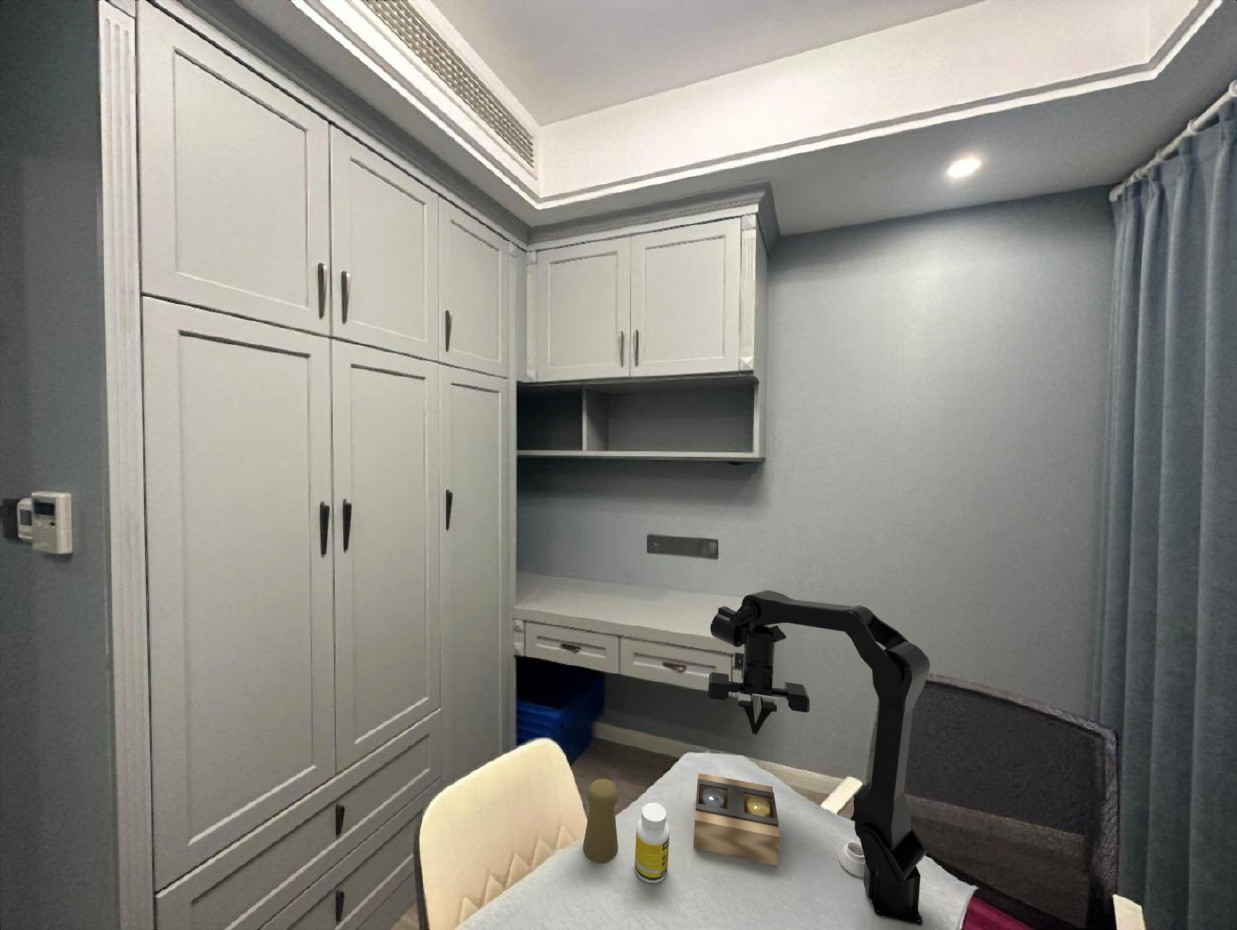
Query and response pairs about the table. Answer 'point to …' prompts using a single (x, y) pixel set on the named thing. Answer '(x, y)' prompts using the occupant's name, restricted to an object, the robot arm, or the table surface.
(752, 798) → the brass plunger
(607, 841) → the olive brown pepper mill
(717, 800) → the steel plunger
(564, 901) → the table surface
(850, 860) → the white jar
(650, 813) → the supplement bottle
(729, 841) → the socket board
